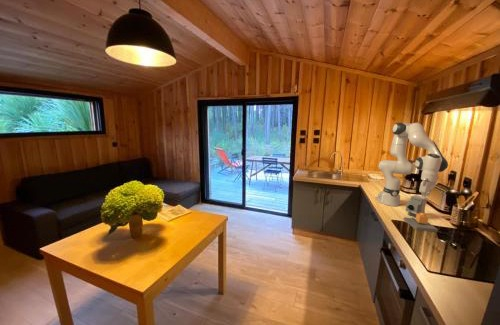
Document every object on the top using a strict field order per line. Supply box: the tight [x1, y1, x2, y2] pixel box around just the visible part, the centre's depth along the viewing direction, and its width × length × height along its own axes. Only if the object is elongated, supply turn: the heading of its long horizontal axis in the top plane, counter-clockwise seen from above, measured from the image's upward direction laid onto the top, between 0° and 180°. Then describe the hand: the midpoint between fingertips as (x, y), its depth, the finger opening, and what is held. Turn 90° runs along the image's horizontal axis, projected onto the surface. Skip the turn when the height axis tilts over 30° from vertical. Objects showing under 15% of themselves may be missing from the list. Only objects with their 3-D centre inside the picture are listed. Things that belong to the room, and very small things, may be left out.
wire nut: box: [415, 213, 429, 224], centre depth 153 cm, size 5×5×6 cm
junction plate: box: [402, 217, 439, 233], centre depth 153 cm, size 16×13×7 cm
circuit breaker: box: [405, 194, 428, 218], centre depth 169 cm, size 8×14×15 cm, turn 117°
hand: (425, 196), depth 153 cm, fingers open, 8 cm apart
